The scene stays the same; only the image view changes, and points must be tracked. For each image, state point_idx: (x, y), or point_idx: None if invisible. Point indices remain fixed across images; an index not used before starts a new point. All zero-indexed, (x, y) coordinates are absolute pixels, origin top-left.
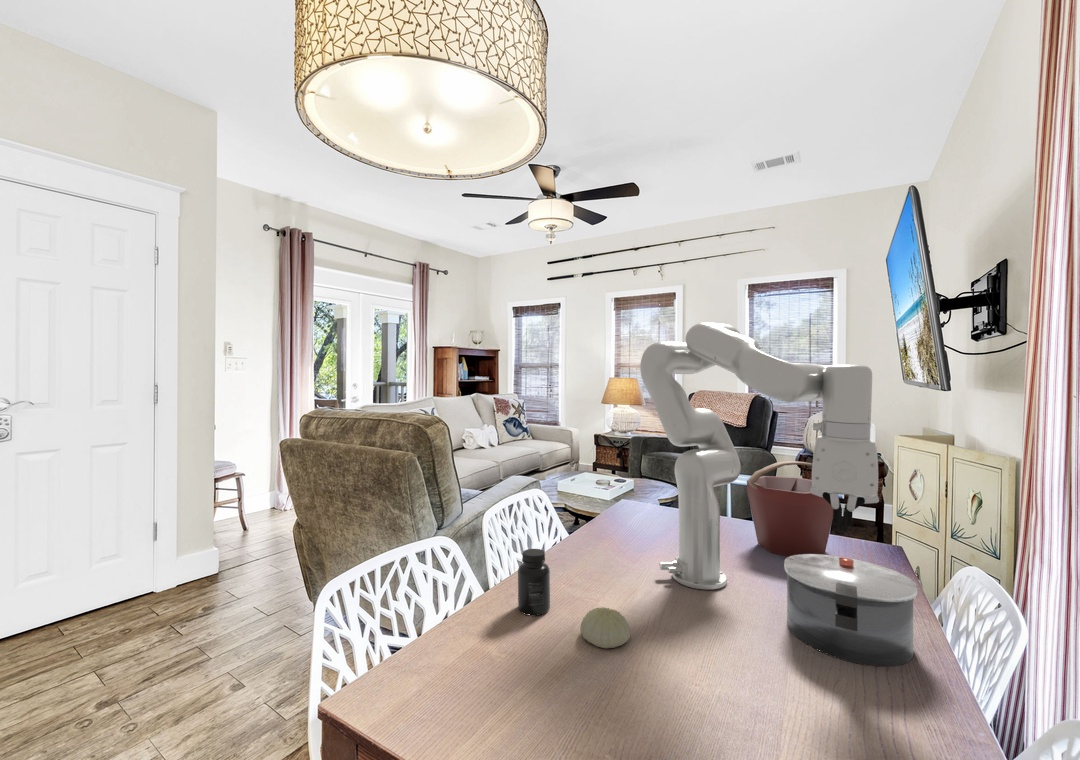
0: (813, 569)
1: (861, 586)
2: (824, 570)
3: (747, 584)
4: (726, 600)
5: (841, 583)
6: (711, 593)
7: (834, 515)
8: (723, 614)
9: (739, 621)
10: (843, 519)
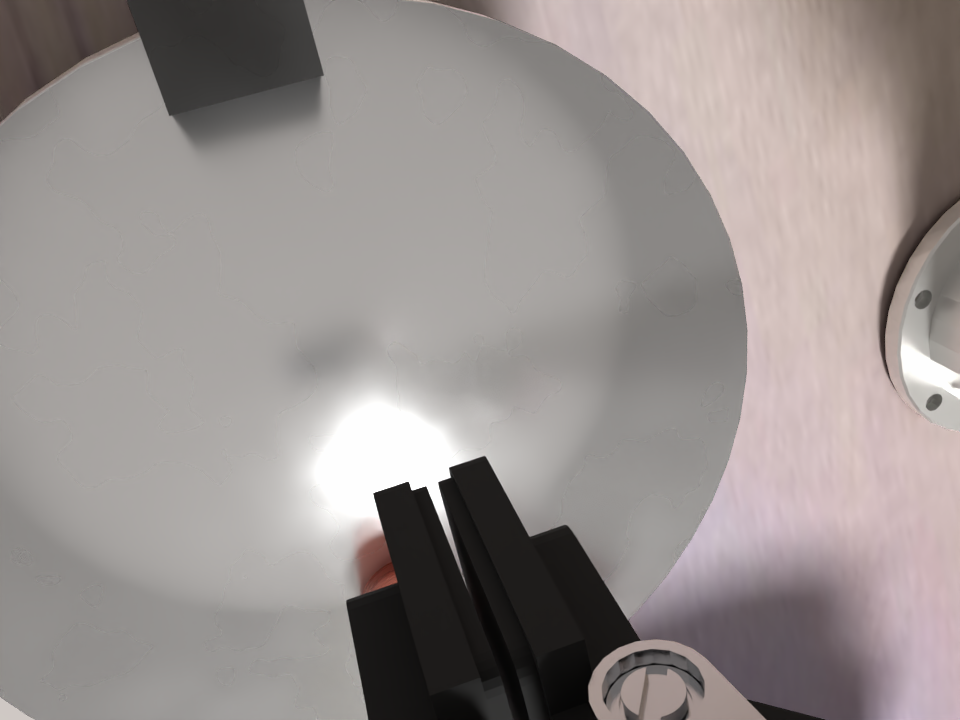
0: (549, 308)
1: (168, 217)
2: (485, 356)
3: (803, 431)
4: (843, 183)
5: (301, 148)
6: (918, 198)
7: (593, 601)
8: (820, 15)
9: (739, 3)
10: (456, 576)
